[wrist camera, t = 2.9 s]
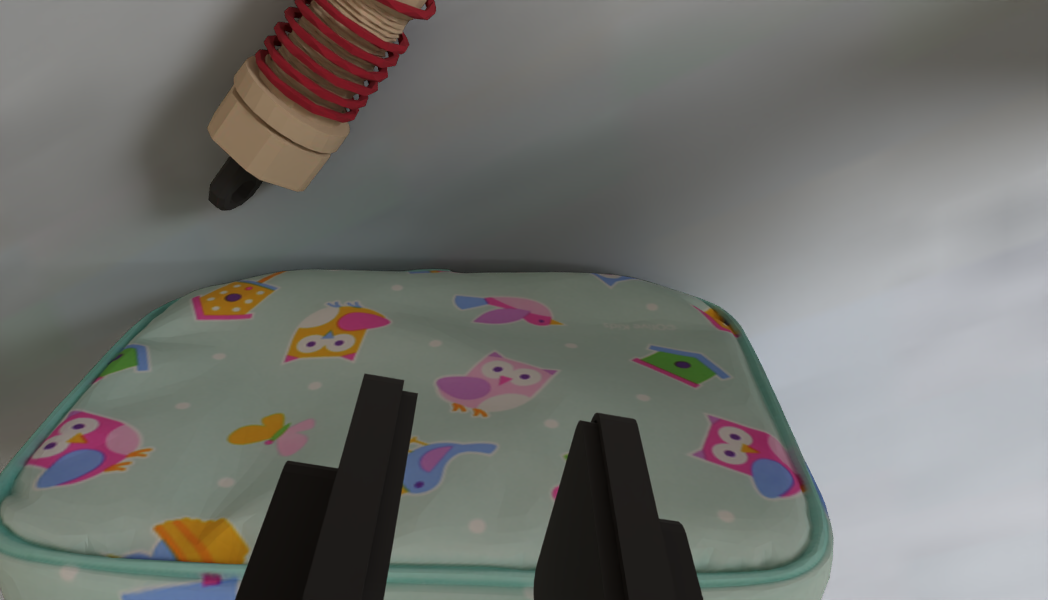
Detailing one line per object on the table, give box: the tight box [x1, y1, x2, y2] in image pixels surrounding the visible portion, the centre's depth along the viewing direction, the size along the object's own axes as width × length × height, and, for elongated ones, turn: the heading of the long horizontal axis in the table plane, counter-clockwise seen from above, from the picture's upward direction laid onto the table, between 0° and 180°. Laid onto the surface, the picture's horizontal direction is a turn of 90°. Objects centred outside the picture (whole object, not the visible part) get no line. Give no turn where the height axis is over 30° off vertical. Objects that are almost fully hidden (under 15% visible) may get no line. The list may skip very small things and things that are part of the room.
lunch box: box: [0, 269, 833, 600], centre depth 33 cm, size 27×10×21 cm, turn 89°
